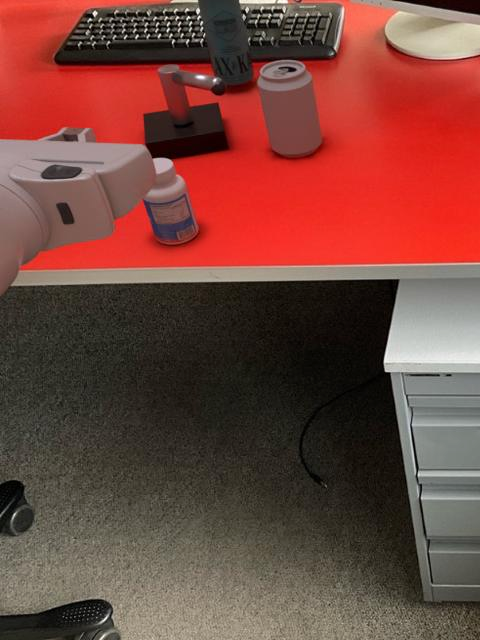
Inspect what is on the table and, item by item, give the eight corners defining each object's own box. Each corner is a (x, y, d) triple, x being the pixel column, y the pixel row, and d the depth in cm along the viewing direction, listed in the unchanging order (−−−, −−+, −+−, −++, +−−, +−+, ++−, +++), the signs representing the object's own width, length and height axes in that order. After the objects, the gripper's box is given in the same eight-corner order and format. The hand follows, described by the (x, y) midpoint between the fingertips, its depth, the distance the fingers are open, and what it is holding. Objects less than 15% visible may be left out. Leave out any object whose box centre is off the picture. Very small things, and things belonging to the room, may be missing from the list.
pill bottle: (160, 224, 115) (138, 155, 109) (202, 221, 115) (183, 152, 109) (151, 247, 111) (127, 177, 105) (194, 245, 111) (174, 175, 105)
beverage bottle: (210, 85, 147) (178, -43, 134) (246, 74, 150) (219, -53, 137) (228, 98, 143) (197, -33, 130) (265, 86, 146) (239, -43, 133)
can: (333, 141, 131) (320, 61, 123) (304, 164, 126) (289, 82, 118) (290, 132, 134) (275, 53, 126) (260, 154, 129) (243, 73, 121)
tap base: (151, 162, 128) (145, 143, 126) (148, 132, 135) (143, 113, 133) (229, 149, 130) (224, 130, 128) (222, 120, 137) (218, 102, 135)
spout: (228, 136, 126) (215, 83, 121) (167, 123, 130) (152, 70, 125) (241, 127, 128) (229, 74, 123) (181, 114, 132) (167, 62, 127)
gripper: (-80, 229, 84) (-2, 158, 94) (126, 239, 82) (183, 165, 92) (-112, 168, 80) (-27, 101, 90) (105, 177, 78) (167, 107, 88)
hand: (81, 134), depth 91 cm, fingers closed
